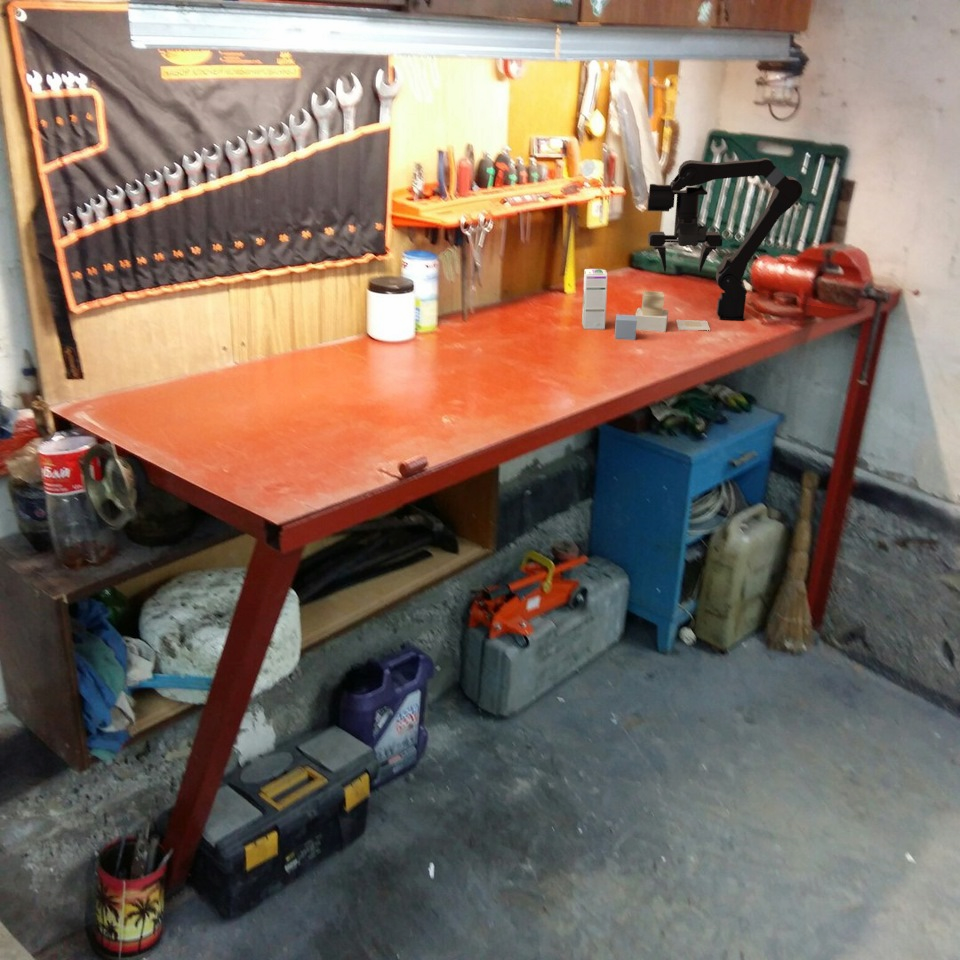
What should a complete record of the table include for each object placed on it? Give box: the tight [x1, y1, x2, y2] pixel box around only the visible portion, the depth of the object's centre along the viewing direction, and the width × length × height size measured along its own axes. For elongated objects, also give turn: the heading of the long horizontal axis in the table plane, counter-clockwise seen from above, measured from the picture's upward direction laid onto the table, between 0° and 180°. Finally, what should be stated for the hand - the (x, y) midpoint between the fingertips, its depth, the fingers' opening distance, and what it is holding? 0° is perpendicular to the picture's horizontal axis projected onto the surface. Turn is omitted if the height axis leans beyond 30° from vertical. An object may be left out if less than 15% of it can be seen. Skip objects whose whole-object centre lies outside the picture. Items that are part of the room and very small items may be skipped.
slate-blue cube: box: [614, 314, 637, 341], centre depth 247 cm, size 5×5×5 cm
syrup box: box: [581, 268, 608, 330], centre depth 253 cm, size 6×6×14 cm
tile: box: [675, 319, 711, 332], centre depth 257 cm, size 8×8×1 cm
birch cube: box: [641, 290, 665, 316], centre depth 254 cm, size 5×5×5 cm
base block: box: [635, 307, 669, 333], centre depth 256 cm, size 8×8×4 cm
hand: (682, 271), depth 262 cm, fingers open, 9 cm apart
